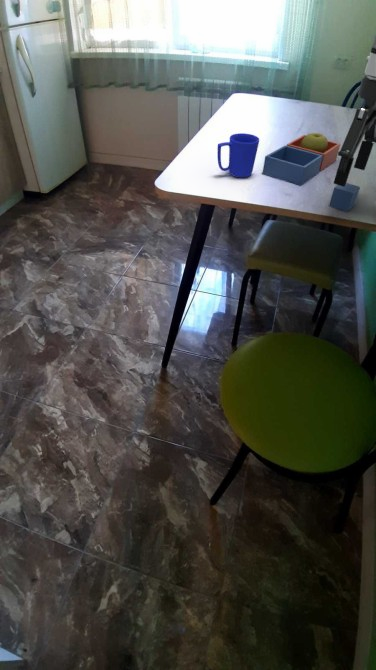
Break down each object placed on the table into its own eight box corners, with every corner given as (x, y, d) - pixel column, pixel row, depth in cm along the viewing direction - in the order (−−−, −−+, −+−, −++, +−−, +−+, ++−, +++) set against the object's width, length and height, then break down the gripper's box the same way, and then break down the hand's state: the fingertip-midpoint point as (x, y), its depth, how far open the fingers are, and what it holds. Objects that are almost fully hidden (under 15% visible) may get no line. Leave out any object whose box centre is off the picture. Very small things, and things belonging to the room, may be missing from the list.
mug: (209, 171, 120) (212, 135, 114) (245, 167, 124) (250, 132, 117) (221, 183, 115) (225, 145, 108) (259, 177, 119) (265, 141, 112)
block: (354, 205, 108) (360, 186, 104) (347, 211, 105) (353, 193, 101) (336, 199, 110) (341, 181, 106) (328, 206, 107) (334, 187, 103)
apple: (326, 163, 127) (333, 139, 122) (301, 163, 127) (306, 138, 122) (319, 154, 133) (325, 131, 128) (295, 154, 132) (300, 130, 127)
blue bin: (318, 172, 123) (323, 155, 120) (300, 185, 116) (304, 167, 112) (281, 162, 128) (285, 145, 125) (262, 173, 121) (265, 156, 117)
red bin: (335, 160, 131) (340, 143, 128) (320, 171, 124) (324, 154, 120) (300, 151, 136) (304, 134, 133) (283, 161, 129) (286, 144, 125)
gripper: (382, 66, 97) (353, 158, 111) (342, 83, 82) (314, 187, 96) (415, 72, 94) (380, 166, 108) (380, 91, 79) (345, 197, 93)
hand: (349, 176), depth 102 cm, fingers open, 13 cm apart
